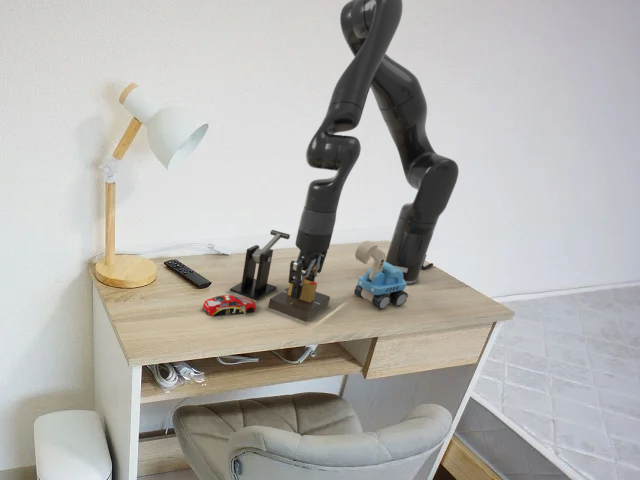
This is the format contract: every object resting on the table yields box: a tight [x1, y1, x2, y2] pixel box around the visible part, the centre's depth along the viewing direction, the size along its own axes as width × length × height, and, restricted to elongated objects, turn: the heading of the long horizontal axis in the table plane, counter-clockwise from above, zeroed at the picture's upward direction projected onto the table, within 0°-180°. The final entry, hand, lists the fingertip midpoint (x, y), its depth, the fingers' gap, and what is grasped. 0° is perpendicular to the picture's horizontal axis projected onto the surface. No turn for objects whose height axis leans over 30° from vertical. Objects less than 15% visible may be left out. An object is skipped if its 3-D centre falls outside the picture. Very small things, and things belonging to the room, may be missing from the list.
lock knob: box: [288, 280, 318, 303], centre depth 125 cm, size 6×2×5 cm, turn 46°
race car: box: [202, 294, 257, 317], centre depth 124 cm, size 13×5×4 cm, turn 102°
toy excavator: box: [353, 240, 409, 310], centre depth 126 cm, size 9×17×17 cm, turn 111°
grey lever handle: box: [252, 229, 291, 265], centre depth 132 cm, size 12×5×2 cm, turn 136°
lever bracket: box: [229, 244, 277, 302], centre depth 132 cm, size 10×8×12 cm
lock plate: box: [267, 286, 331, 322], centre depth 127 cm, size 12×10×3 cm
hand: (301, 294), depth 125 cm, fingers open, 5 cm apart
